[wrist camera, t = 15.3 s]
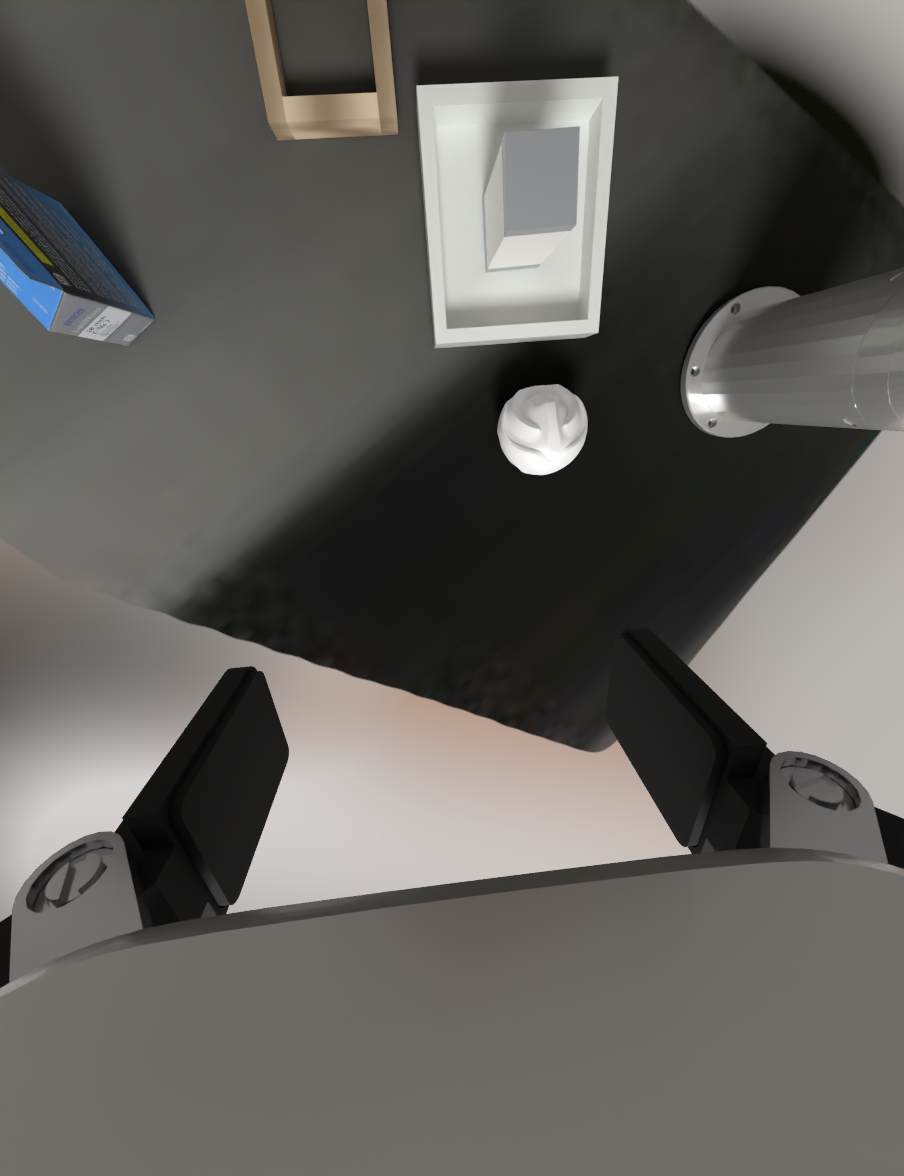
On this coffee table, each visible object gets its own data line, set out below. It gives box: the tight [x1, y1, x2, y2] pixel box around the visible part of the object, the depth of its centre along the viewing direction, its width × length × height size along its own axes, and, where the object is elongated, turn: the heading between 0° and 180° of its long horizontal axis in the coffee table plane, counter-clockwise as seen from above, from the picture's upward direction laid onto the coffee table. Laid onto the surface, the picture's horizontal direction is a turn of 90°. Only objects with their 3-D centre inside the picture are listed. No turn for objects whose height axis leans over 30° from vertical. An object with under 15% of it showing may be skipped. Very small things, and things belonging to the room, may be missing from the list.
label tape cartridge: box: [0, 171, 155, 346], centre depth 26 cm, size 9×4×12 cm, turn 33°
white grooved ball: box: [497, 384, 588, 475], centre depth 36 cm, size 8×8×8 cm
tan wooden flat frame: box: [245, 0, 398, 140], centre depth 27 cm, size 9×9×2 cm
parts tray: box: [417, 77, 618, 348], centre depth 31 cm, size 14×15×3 cm
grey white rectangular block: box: [482, 126, 580, 273], centre depth 28 cm, size 4×4×9 cm
